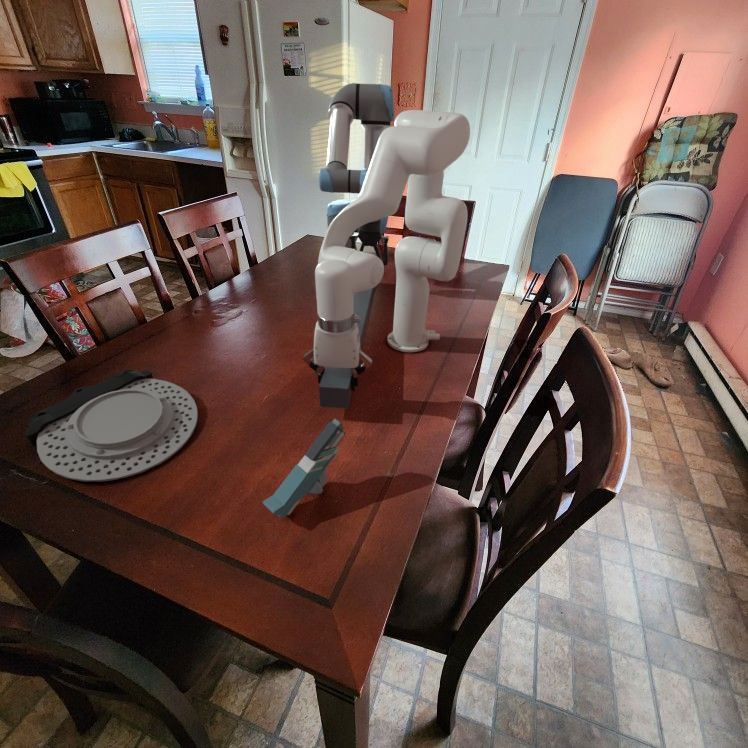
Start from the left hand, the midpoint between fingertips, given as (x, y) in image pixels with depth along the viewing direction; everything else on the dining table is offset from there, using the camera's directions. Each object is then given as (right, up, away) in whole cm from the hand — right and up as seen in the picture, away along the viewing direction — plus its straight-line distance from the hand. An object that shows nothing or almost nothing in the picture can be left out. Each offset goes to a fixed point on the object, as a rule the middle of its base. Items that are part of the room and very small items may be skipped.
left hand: (368, 281), depth 156 cm
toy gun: (-10, -58, -78) cm, 98 cm away
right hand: (-6, -38, -59) cm, 70 cm away
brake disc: (-53, -47, -66) cm, 97 cm away
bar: (-3, -20, -29) cm, 35 cm away
